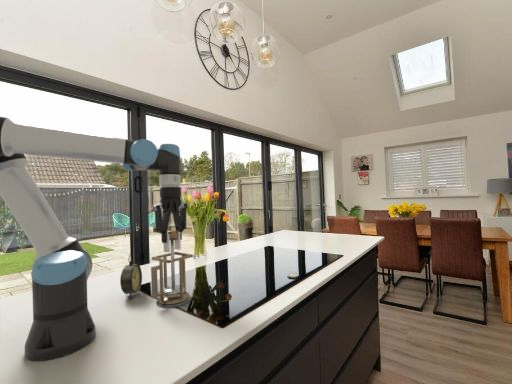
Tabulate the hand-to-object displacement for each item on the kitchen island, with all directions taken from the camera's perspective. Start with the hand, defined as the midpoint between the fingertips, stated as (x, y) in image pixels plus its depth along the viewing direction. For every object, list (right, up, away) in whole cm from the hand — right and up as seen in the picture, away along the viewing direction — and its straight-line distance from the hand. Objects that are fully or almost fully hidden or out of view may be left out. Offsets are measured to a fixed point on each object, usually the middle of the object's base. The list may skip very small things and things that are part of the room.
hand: (172, 250), depth 97 cm
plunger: (+1, -15, 0) cm, 15 cm away
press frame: (+1, -18, 0) cm, 18 cm away
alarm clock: (-18, -19, +7) cm, 27 cm away
